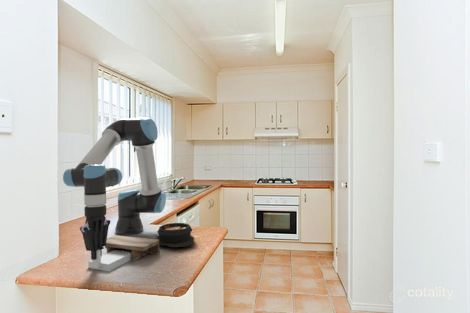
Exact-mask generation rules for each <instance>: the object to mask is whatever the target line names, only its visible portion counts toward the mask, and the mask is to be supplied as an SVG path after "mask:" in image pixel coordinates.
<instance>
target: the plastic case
mask: <svg viewBox="0 0 470 313" xmlns="http://www.w3.org/2000/svg"><path fill="white" fill-rule="evenodd" d="M130 261H133V260H132V251H127V250H123V251H120V250H113V251H111V252H108V253H107V252H106V253H104V254H102V256H101V267H99V268H94V267H92V259H90V260H88V261H87V262H88V269H93V270H100V271H104V272H111V271H112V270H115V269H116V268H118V267H120V266H122V265H123V264H126V263H128V262H130Z"/></svg>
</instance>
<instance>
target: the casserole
mask: <svg viewBox="0 0 470 313" xmlns="http://www.w3.org/2000/svg"><path fill="white" fill-rule="evenodd" d="M192 231H193V229H192V227H191V225H190V224H189V223H185V222H174V223H173V222H172V223H167V224H162V225H160V226H159V228H158V230H157V232H156V233H157V234H158V235H157V236H156V239H157V240H159V246H160V245H161V246H166V247H169V248H182V247H184V248H185V247H188V246H191V245H194V243H195V237H194V236H193V235H191V233H192Z"/></svg>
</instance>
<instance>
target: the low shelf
mask: <svg viewBox="0 0 470 313" xmlns="http://www.w3.org/2000/svg"><path fill="white" fill-rule="evenodd" d="M102 243H103V242H102ZM105 246H106V247H107V248H106V253H108V252H111V251H113V250H120V251H127V252H132V260H131V261H136V260H138V259H140V258H142V257H143V256H145V255H148V254H154V255H155V254H156V255H159V254H160V244H159V240H157V238H144V237H135V236H134V237H133V236H128V235H127V236H125V235H118V234H116V235H112V236H109V237H107V241H106V245H105ZM105 246H104V247H105Z"/></svg>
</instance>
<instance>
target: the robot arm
mask: <svg viewBox="0 0 470 313" xmlns="http://www.w3.org/2000/svg"><path fill="white" fill-rule="evenodd" d="M158 136H159V135H158V128H157V124H156V122H155V121H154V120H153V119H152V118H150V117H136V118H135V117H131V118H126V117H125V118H120V119H118V120H116V121H114V122H112V123H111V124H109V125H108V126H106V128H105V129H104V130H103V131H102V133H101V137H100V138H99V139H98V141H97V142H95V144H94V145H93V146H92V148H91V149H90V150H89V151H88V152H87V153H86V155H85V156H84V157H83V158H82V160H81V161H80V162H79V163H78V164H77V165H76V167H72V168H68V169H66V170H65V171H64V172H63V175H62V180H63V183H64V185H65V186H67V187H71V188H72V187H73V188H79V187H80V188H82V187H83V188H84V191H83V192H84V193H83V196H84V204H83V205H84V216H85V221H84V222H85V223H84V225H83V226H80V227H79V231H80V232H81V234H82V237H83V242H84V247H85V250H86V251H89V252H90V260H92V267H94V268H99V267H101V256H102V255H103V254H102V253H103V251H102V250H104V249H105V245H106V241H107V238H108V233H109V226H110V224H111V220H110V219H107V218H106V215H107V205H106V204H107V188H109V187H114V186H117V185H119V184H120V183H121V182H122V180H123V173H122V171H121V170H120V169H119V168H116V167H109V168H107V167H106V165H105V164H103V163H104V162H105V161H106V159H107V157H108V156H109V155H110V154H111V152H112V151H113V149H114V148H115V147H116V146H118V145H120V144H121V142H125V141H127V142H130V141H131V146H133V147H134V148H135V152H136V158H137V164H138V172H139V178H140V184H141V189H131V190H125V191H121V192H119V193H118V195H117V213H118V215H117V216H118V218H117V222H116V225H115V229H114V231H115V232H114V233H115V234H116V235H133V234H138V233H140V232H143V231H144V225H143V222H142V219H141V214H160V213H162V212H164V210H165V206H166V202H167V194H166V192H164V191H162V188H161V186H159V184H158V175H157V170H156V162H155V155H154V148H153V146H154V144H155V143H156V140H157V139H158ZM102 242H103V243H102Z"/></svg>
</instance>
